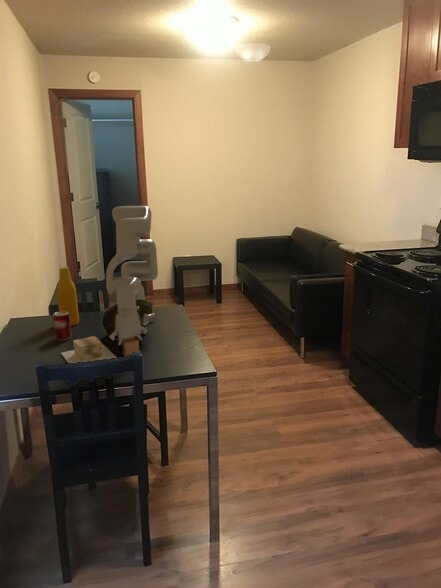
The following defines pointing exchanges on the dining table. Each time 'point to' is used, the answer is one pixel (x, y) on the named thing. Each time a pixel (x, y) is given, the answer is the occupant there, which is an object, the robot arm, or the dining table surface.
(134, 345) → the pink cube
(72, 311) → the beer bottle
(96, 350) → the maple block
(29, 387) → the dining table surface
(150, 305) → the brown green figure
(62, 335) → the soda can
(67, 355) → the plate
